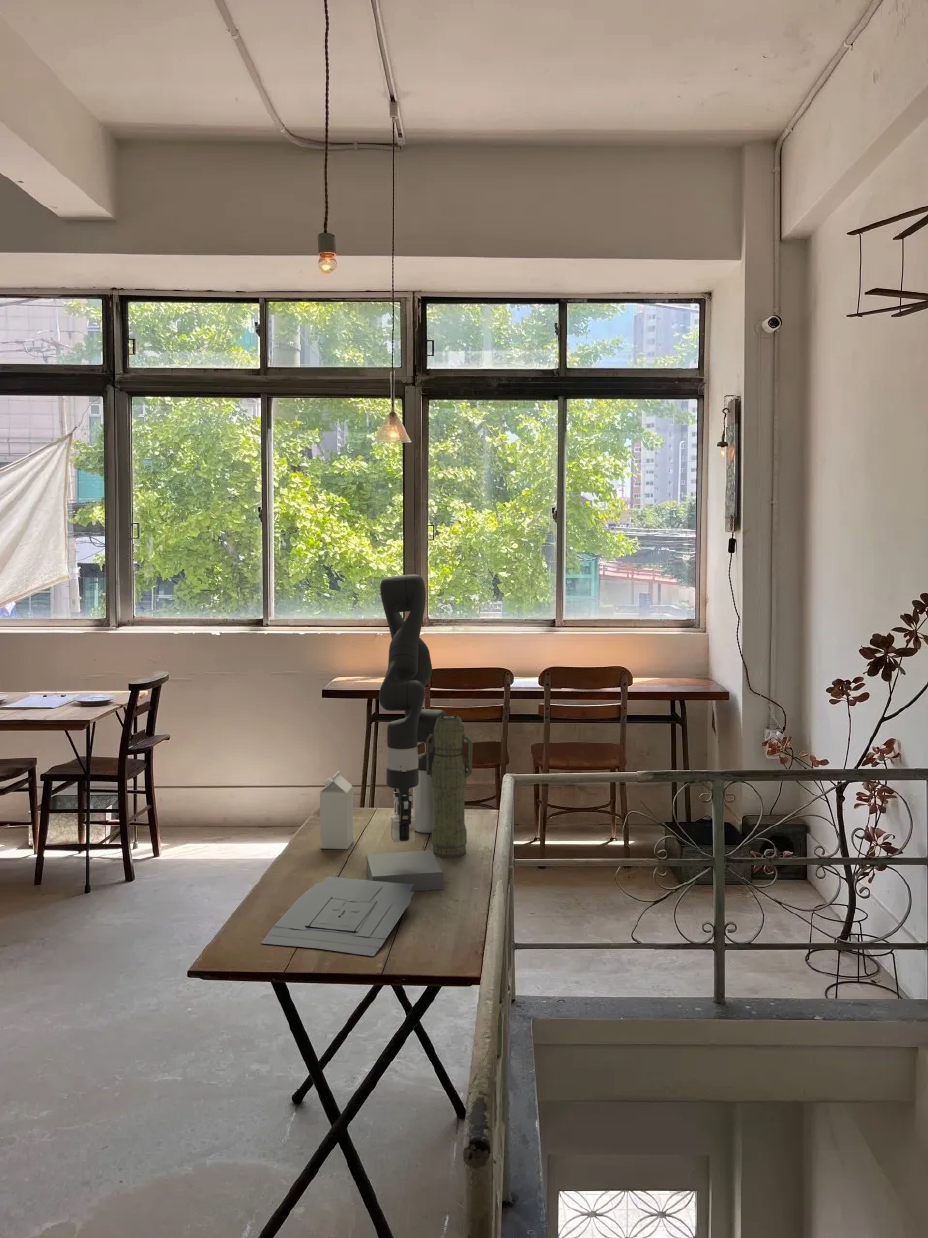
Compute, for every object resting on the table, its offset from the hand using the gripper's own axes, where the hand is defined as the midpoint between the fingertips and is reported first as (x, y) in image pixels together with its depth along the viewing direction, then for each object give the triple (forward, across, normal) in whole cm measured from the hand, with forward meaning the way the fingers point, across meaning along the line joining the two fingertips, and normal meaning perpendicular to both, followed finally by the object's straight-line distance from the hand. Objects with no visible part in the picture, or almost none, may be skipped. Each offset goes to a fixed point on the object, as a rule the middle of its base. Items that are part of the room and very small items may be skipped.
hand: (402, 836), depth 230 cm
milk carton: (+10, -29, -14) cm, 34 cm away
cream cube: (0, 0, 0) cm, 0 cm away
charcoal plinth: (+10, 0, 0) cm, 10 cm away
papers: (+11, +23, -15) cm, 30 cm away
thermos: (+10, -18, +14) cm, 25 cm away
